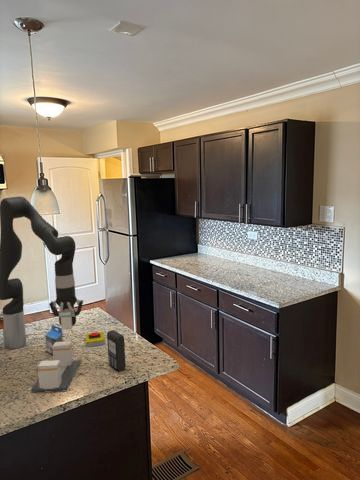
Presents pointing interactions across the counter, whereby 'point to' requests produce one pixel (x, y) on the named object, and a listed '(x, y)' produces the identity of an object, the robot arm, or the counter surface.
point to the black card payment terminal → (116, 350)
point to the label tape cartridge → (53, 338)
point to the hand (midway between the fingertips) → (68, 324)
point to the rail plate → (66, 378)
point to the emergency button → (95, 340)
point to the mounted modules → (55, 365)
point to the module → (66, 319)
